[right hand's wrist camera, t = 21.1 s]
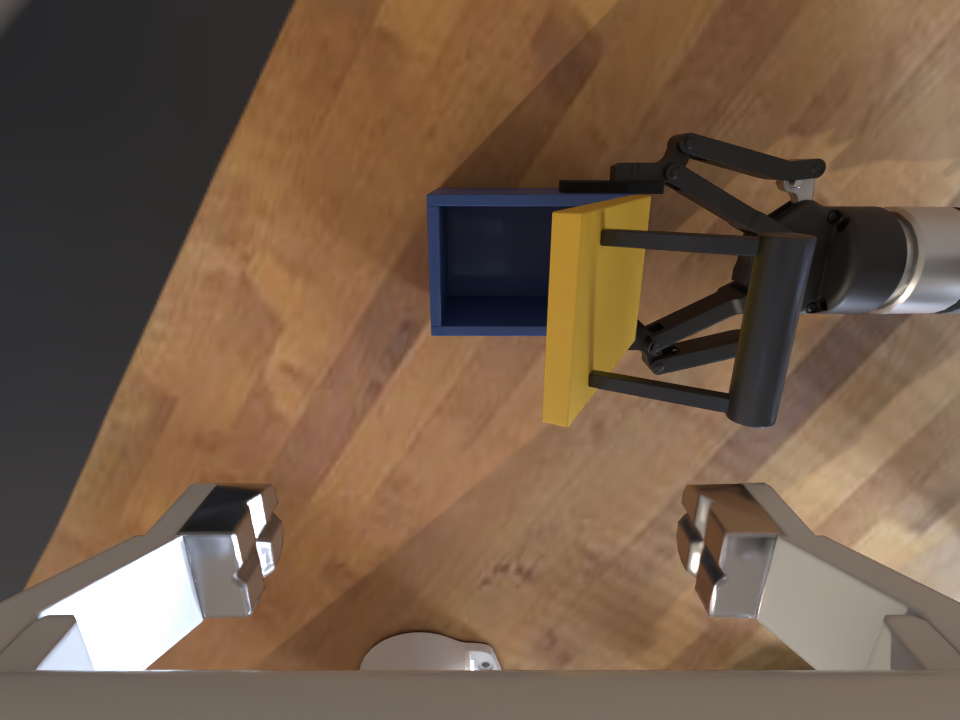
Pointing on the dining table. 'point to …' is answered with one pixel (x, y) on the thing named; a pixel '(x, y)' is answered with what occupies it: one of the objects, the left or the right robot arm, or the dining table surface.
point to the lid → (615, 302)
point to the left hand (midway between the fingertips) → (557, 260)
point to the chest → (493, 258)
